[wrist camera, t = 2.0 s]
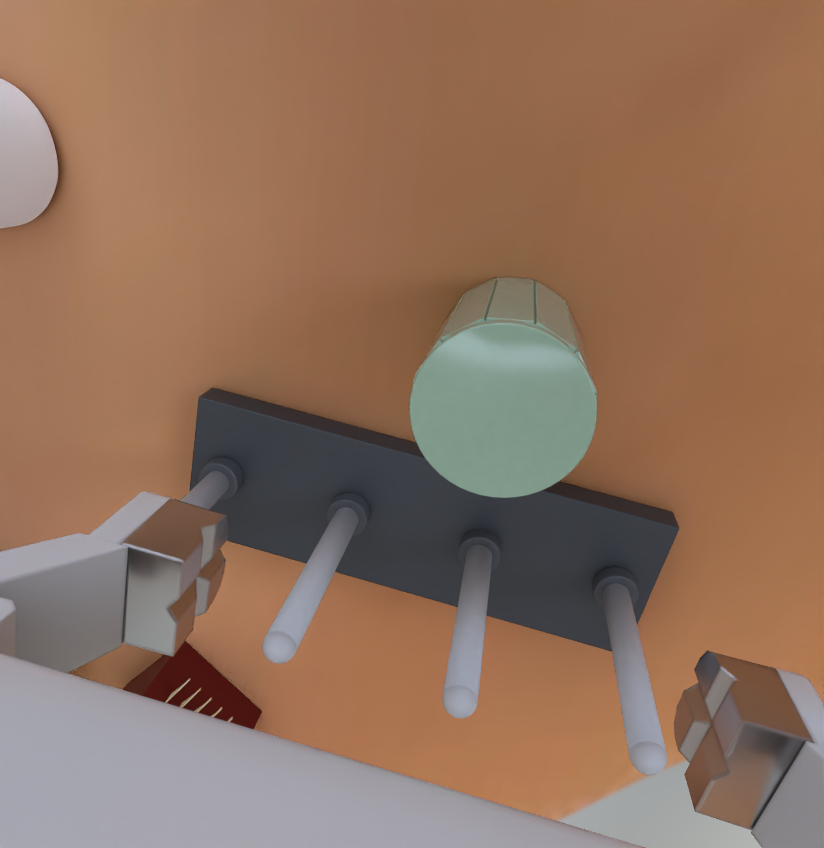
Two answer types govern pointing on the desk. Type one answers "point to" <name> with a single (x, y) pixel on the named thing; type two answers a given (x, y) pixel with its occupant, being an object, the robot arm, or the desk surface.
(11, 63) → the desk surface
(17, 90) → the can
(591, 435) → the cup
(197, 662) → the toy houses
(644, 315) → the desk surface
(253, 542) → the dish rack
